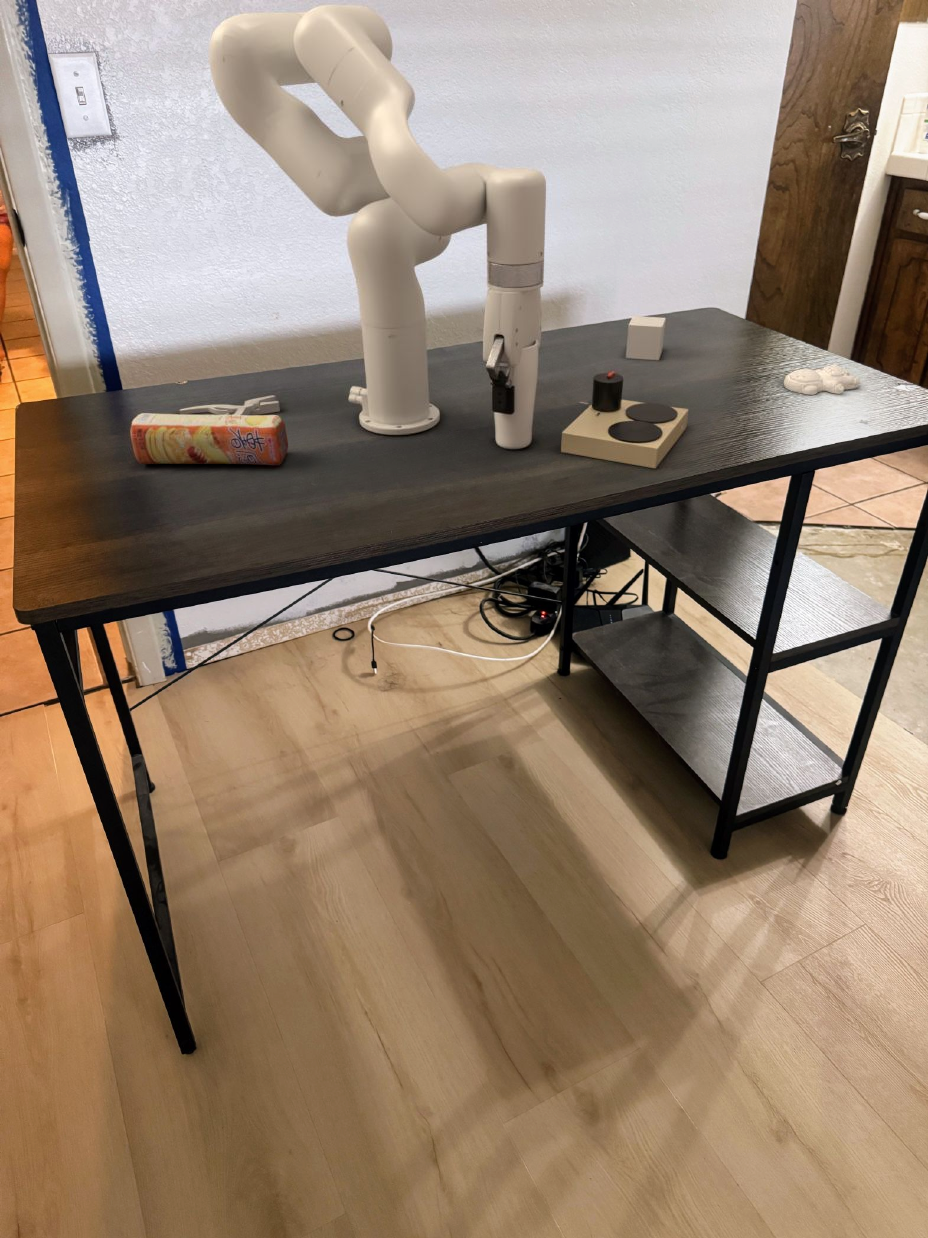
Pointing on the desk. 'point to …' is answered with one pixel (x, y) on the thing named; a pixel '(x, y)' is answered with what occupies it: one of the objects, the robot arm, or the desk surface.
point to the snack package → (209, 439)
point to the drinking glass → (519, 402)
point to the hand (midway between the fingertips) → (514, 402)
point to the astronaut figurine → (820, 380)
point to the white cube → (645, 337)
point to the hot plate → (595, 441)
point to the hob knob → (607, 392)
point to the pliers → (239, 407)
